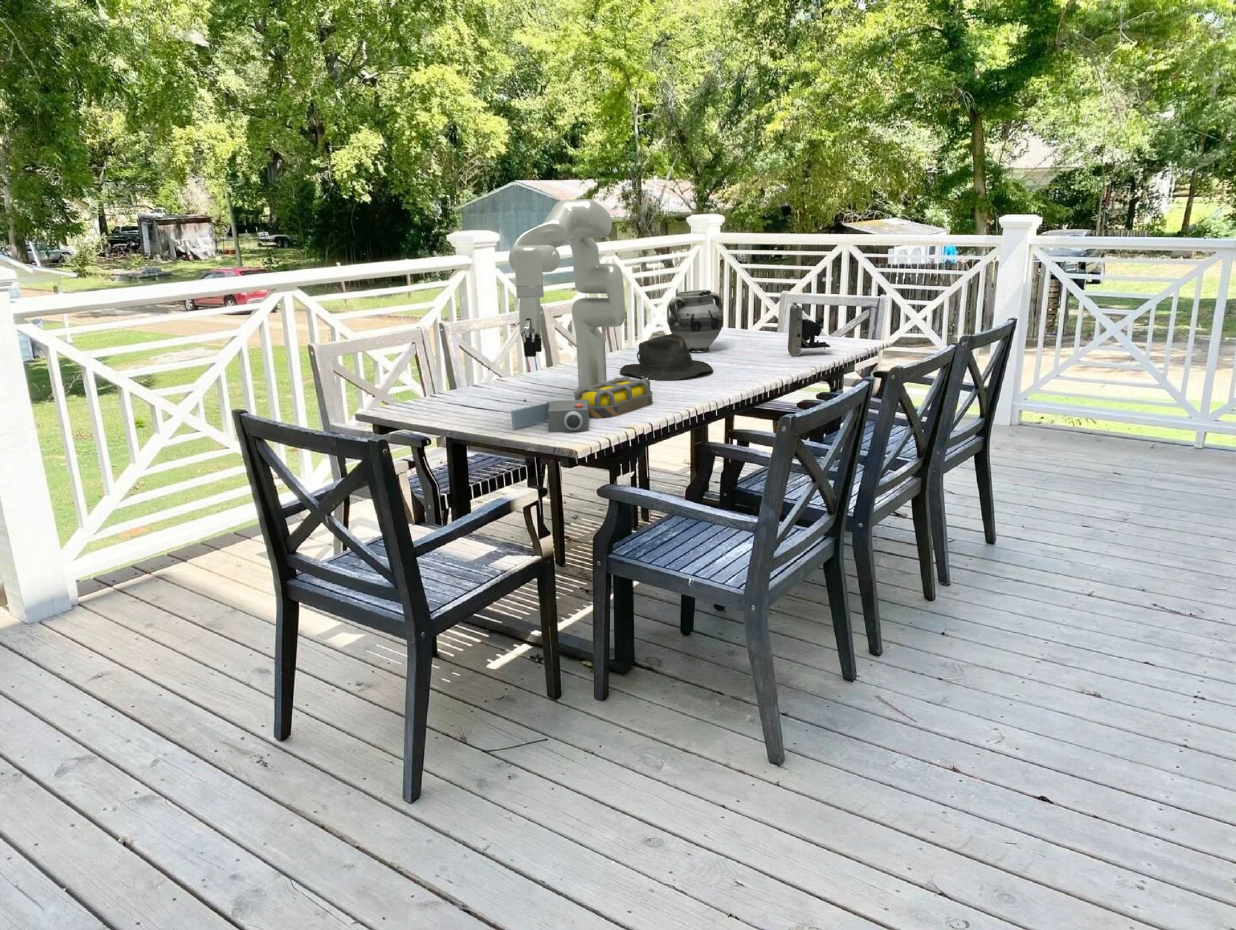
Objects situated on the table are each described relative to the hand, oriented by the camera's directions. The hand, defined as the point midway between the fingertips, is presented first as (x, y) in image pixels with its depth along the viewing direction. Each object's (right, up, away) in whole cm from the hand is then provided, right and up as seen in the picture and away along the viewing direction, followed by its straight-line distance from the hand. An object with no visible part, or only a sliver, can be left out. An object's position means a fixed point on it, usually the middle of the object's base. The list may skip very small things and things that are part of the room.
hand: (533, 354), depth 261 cm
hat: (+42, +3, +83) cm, 93 cm away
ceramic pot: (+57, +16, +127) cm, 140 cm away
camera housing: (+10, -20, +6) cm, 23 cm away
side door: (-1, -19, +9) cm, 21 cm away
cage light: (+23, -14, +27) cm, 38 cm away
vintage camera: (+100, +13, +107) cm, 147 cm away
